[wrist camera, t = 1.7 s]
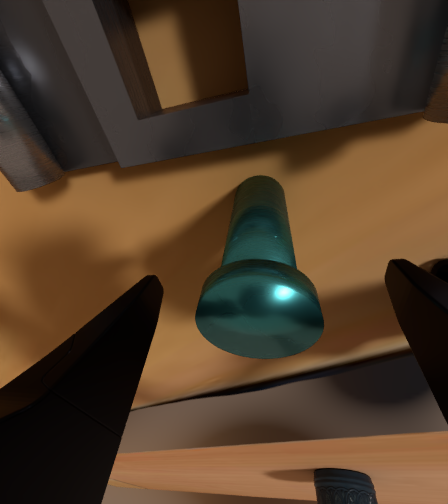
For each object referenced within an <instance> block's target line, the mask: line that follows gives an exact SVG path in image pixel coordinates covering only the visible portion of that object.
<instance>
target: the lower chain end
mask: <svg viewBox="0 0 448 504" xmlns="http://www.w3.org/2000/svg"><path fill="white" fill-rule="evenodd" d="M112 2H113V5H114V8H115V11H116V14H117V17H118V20H119V22H120V25H121V28H122V31H123V34H124V37H125V40H126V43H127V46H128V48H129V51H130V54H131V57H132V60H133V63H134V66H135V69H136V72H137V74H138V77H139V80H140V83H141V86H142V89H143V92H144V95H145V98H146V100H147V103H148V106H149V109H150V112H151V114H154V113H158V112H163V111H167V110H171V109H175V108H179V107H183V106H188V105H192V104H196V103H200V102H204V101H209V100H213V99H217V98H221V97H225V96H229V95H234V94H238V93H242V92H246V91H249V89H248V88H247V89H243V90H239V91H235V92H231V93H227V94H222V95H218V96H214V97H210V98H206V99H202V100H198V101H194V102H190V103H185V104H181V105H177V106H173V107H169V108H165V109H162V108H161V104H160V101H159V98H158V95H157V92H156V89H155V86H154V82H153V79H152V76H151V73H150V70H149V67H148V64H147V60H146V57H145V54H144V51H143V48H142V45H141V42H140V39H139V35H138V32H137V29H136V26H135V23H134V20H133V17H132V13H131V10H130V7H129V4H128V1H127V0H112ZM117 161H118V160H117V158H116V156H115V154H114V152H113V150H112V147H111V145H110V143H109V141H108V139H107V137H106V135H105V133H104V130H103V128H102V126H101V124H100V122H99V120H98V118H97V116H96V114H95V111H94V109H93V107H92V105H91V103H90V101H89V99H88V97H87V94H86V92H85V90H84V88H83V86H82V84H81V82H80V80H79V77H78V75H77V73H76V71H75V69H74V67H73V65H72V63H71V61H70V58H69V56H68V54H67V52H66V50H65V48H64V46H63V44H62V41H61V39H60V37H59V35H58V33H57V31H56V29H55V27H54V24H53V22H52V20H51V18H50V16H49V14H48V12H47V10H46V8H45V5H44V3H43V1H42V0H0V171H1V172H2V174H3V175H4V176H5V177H6V179H7V180H8V181H9V182H10V184H11V185H12V186H13V188H14V189H15V190H16V191H17V192H22V191H28V190H31V189H35V188H38V187H41V186H44V185H46V184H49V183H51V182H53V181H56V180H58V179H59V178H61V177H63V176H64V175H65V172H66V171H71V170H76V169H82V168H87V167H92V166H97V165H102V164H107V163H112V162H117Z"/></svg>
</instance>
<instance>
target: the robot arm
mask: <svg viewBox="0 0 448 504" xmlns="http://www.w3.org/2000/svg"><path fill="white" fill-rule="evenodd" d="M385 284H386V287H387V290H388V293H389V296H390V299H391V302H392V305H393V308H394V311H395V314H396V317H397V319H398V322H399V324H400V326H401V329H402V331H403V333H404V335H405V337H406V339H407V341H408V343H409V345H410V347H411V349H412V351H413V354H414V356H415V358H416V360H417V362H418V364H419V366H420V368H421V370H422V372H423V374H424V376H425V378H426V381H427V383H428V385H429V387H430V389H431V391H432V393H433V395H434V397H435V399H436V401H437V403H438V406H439V408H440V410H441V412H442V414H443V416H444V418H445V420H446V422H447V424H448V260H442V261H439V262H438V263H436V264H435V266H434V268H433V270H432V272H431V274H430V273H429V272H427V271H425V270H423V269H422V268H420V267H418V266H416V265H415V264H413V263H411V262H409V261H408V260H406V259H392V260H390V261H389V263H388V266H387V270H386V273H385ZM162 298H163V287H162V285H161V283H160V281H159V279H158V277H157V276H156V275H147V276H145V277H144V278H143V279H141V280H140V281H139V282H138V283H136V284H135V285H134V286H133V287H132V288H130V289H129V290H128V291H127V292H125V293H124V294H123V295H122V296H120V297H119V298H118V299H117V300H115V301H114V302H113V303H112V304H110V305H109V306H108V307H107V308H106V309H104V310H103V311H102V312H101V313H99V314H98V315H97V316H96V317H94V318H93V319H92V320H91V321H89V322H88V323H87V324H86V325H84V326H83V327H82V328H81V329H79V330H78V331H77V332H76V334H73V335H72V336H71V337H70V338H68V339H67V340H66V341H65V342H63V343H62V344H61V345H59V346H58V347H57V348H56V349H54V350H53V351H52V352H50V353H49V354H48V355H46V356H45V357H44V358H42V359H41V360H40V361H38V362H37V363H35V364H34V365H33V366H31V367H30V368H29V369H27V370H26V371H24V372H23V373H22V374H20V375H19V376H17V377H16V378H15V379H13V380H12V381H11V382H9V383H8V384H6V385H5V386H4V387H2V388H1V389H0V504H101V502H102V499H103V496H104V493H105V490H106V487H107V483H108V480H109V477H110V474H111V471H112V468H113V464H114V461H115V458H116V455H117V451H118V448H119V445H120V442H121V437H122V435H123V431H124V429H125V426H126V422H127V419H128V416H129V413H130V410H131V406H132V403H133V400H134V397H135V394H136V390H137V387H138V384H139V381H140V378H141V374H142V371H143V368H144V365H145V362H146V358H147V355H148V352H149V349H150V346H151V342H152V339H153V336H154V333H155V330H156V326H157V322H158V318H159V313H160V308H161V303H162Z"/></svg>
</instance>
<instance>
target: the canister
mask: <svg viewBox="0 0 448 504" xmlns="http://www.w3.org/2000/svg"><path fill="white" fill-rule="evenodd" d="M314 486H315V489H316V496H317V504H378V503H377V499H376V491H375V489H374V485H373V483H372V481H371V478H370V477H369V476H367V475H365V474H362V473H359V472H355V471H349V470H341V469H321V470H316V471H315V472H314Z"/></svg>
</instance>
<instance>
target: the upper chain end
mask: <svg viewBox="0 0 448 504" xmlns="http://www.w3.org/2000/svg"><path fill="white" fill-rule="evenodd" d="M42 1H43V3H44V5H45V8H46V10H47V12H48V14H49V16H50V18H51V20H52V22H53V24H54V27H55V29H56V31H57V33H58V35H59V37H60V39H61V41H62V44H63V46H64V48H65V50H66V52H67V54H68V56H69V58H70V61H71V63H72V65H73V67H74V69H75V71H76V73H77V75H78V77H79V80H80V82H81V84H82V86H83V88H84V90H85V92H86V94H87V97H88V99H89V101H90V103H91V105H92V107H93V109H94V111H95V114H96V116H97V118H98V120H99V122H100V124H101V126H102V128H103V130H104V133H105V135H106V137H107V139H108V141H109V143H110V145H111V147H112V150H113V152H114V154H115V156H116V158H117V160H118V162H119V164H120V167H121V168H125V167H130V166H135V165H141V164H146V163H151V162H157V161H162V160H167V159H172V158H178V157H183V156H188V155H194V154H199V153H204V152H210V151H215V150H220V149H226V148H231V147H236V146H242V145H247V144H252V143H258V142H263V141H268V140H273V139H279V138H284V137H289V136H295V135H300V134H305V133H311V132H316V131H321V130H327V129H332V128H337V127H343V126H348V125H353V124H359V123H364V122H369V121H374V120H380V119H385V118H390V117H396V116H401V115H406V114H412V113H417V112H422V111H424V114H423V118H424V119H425V120H427V121H431V122H437V123H448V0H238V5H239V14H240V22H241V30H242V39H243V47H244V55H245V64H246V72H247V80H248V89H249V91H246V92H242V93H238V94H234V95H229V96H225V97H221V98H217V99H213V100H209V101H204V102H200V103H196V104H192V105H188V106H183V107H179V108H175V109H171V110H167V111H163V112H158V113H154V114H151V112H150V109H149V106H148V103H147V100H146V98H145V95H144V92H143V89H142V86H141V83H140V80H139V77H138V74H137V72H136V69H135V66H134V63H133V60H132V57H131V54H130V51H129V48H128V46H127V43H126V40H125V37H124V34H123V31H122V28H121V25H120V22H119V20H118V17H117V14H116V11H115V8H114V5H113V2H112V0H42Z"/></svg>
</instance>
